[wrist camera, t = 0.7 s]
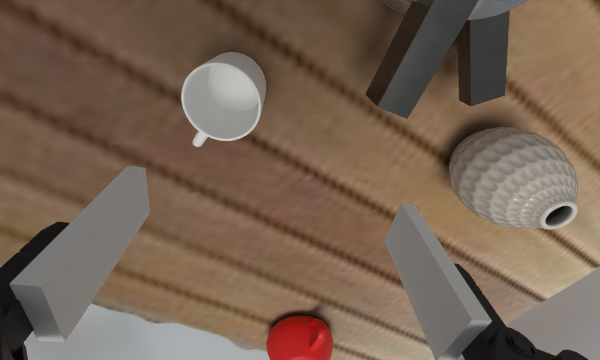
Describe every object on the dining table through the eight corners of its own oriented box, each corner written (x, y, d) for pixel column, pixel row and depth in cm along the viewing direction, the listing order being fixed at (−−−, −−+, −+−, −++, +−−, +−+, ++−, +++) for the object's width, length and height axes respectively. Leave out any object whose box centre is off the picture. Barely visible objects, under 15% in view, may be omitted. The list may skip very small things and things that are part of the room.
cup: (278, 78, 38) (276, 97, 29) (232, 143, 42) (218, 176, 34) (225, 36, 35) (205, 43, 26) (182, 110, 40) (152, 137, 31)
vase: (532, 129, 43) (653, 185, 29) (479, 194, 49) (558, 267, 35) (464, 102, 41) (561, 149, 26) (418, 174, 47) (476, 245, 32)
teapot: (288, 291, 61) (289, 349, 50) (350, 307, 64) (362, 363, 54) (250, 350, 72) (244, 407, 61) (305, 360, 76) (308, 416, 65)
